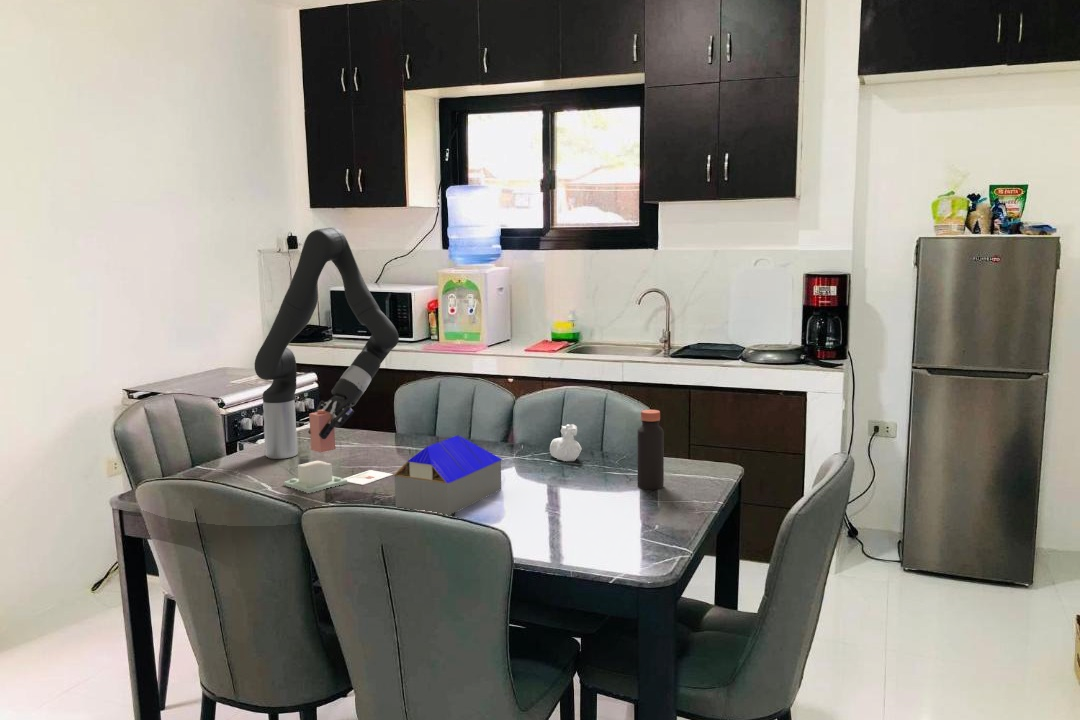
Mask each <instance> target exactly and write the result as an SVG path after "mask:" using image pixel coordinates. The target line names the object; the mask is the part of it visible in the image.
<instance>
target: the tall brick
mask: <svg viewBox="0 0 1080 720" xmlns="http://www.w3.org/2000/svg"><path fill="white" fill-rule="evenodd" d="M330 414H331V413H330V412H327V411H325V410H317V412H315V411H314V412H311V413H308V415H309V417H308V419H309V429H310V434H309V435H310V450H311V451H314V452H318V453H325V452H329V451H333V450H336V433H335V428H334V429H332V431H331V432H330V434H329V435H328V436H327V438H326V439H322V438H321V437H320V436H319V433H320V432H321V430H322V429H323V428H324V426H325V425H326V424H328V423H327V422H328V420H329V419H330V417H331V416H330ZM333 420H334V419H333Z"/></svg>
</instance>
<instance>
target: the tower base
mask: <svg viewBox="0 0 1080 720" xmlns="http://www.w3.org/2000/svg"><path fill="white" fill-rule="evenodd" d="M332 468H333V465H332V463H329V462H325V461H322V460H314V461H310V462H304V463H302V464H301V463H300V464H297V474H298V475H297V476H298V477H297V478H295V477H293V478H289V480H286V481H283V486H285V485H286V486H285V487H289V488H290V487H291V489H293V488H295V489H294V490H296V489H298V490H297V491H299V490H301V491H300V492H302V491H304V492H303V493H305V492H307V493H306V494H308V493H309V494H311V493H310V492H313V493H315V492H314V491H317V492H320V491H319V490H321V491H324V490H323V489H325V490H327V489H326V488H329V489H331V488H330V487H332V488H336V487H339V485H340V486H344V485H348V482H347V480H345V479H344V478H342V477H341V476H340V477H339V476H335V475H333V469H332ZM335 486H336V487H335Z"/></svg>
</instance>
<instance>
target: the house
mask: <svg viewBox="0 0 1080 720" xmlns="http://www.w3.org/2000/svg"><path fill="white" fill-rule="evenodd" d="M502 461H503V459H502V458H501V457H500V456H496V455H495V454H493V452H490V451H488V450H486V449H485V448H482V447H481V446H479V445H477V444H475V443H473V442H471V441H470V440H468V439H466V438H464V437H463V436H461V435H458V434H457V435H455V436H453V437H450V438H447V439H444V440H441V441H438V442H436V443H433V444H431V445H427V446H426V447H425V448H423V449H422V450H420V451H419V452H418V453H417V454H415V455H414V456H413V457H411V458H410V459H408V460H406V462H405V463H404V464H403V465H402V466H401V467H400V468H399V469H398V470H397V471H396V472H395V473H394V475H392V477H394V492H395V494H394V496H395V508H398V507H403V508H402V509H404V508H409V509H408V510H410V509H417V510H425V511H432V512H437V513H442V514H447V515H449V516H451V515H452V514H450V513H453V514H454V512H455V513H457V512H459V511H461V510H462V508H463V509H465V508H467V507H469V506H471V505H473V504H475V503H477V502H478V500H479V501H480V499H481V500H483V499H485V498H487V497H489V496H491V495H493V494H495V493H497V492H499V491H500V490H499V489H501V490H502ZM498 490H499V491H498ZM496 491H497V492H496ZM494 492H495V493H494ZM492 493H493V494H492ZM490 494H491V495H490ZM488 495H489V496H488ZM486 496H487V497H486ZM482 498H483V499H482ZM460 509H461V510H460ZM458 510H459V511H458ZM456 511H457V512H456Z"/></svg>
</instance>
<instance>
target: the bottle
mask: <svg viewBox="0 0 1080 720" xmlns="http://www.w3.org/2000/svg"><path fill="white" fill-rule="evenodd" d="M640 420H641V423H642V424H641V425H640V427H639V428H638V429H637V436H636V439H637V440H636V441H637V452H636V453H637V454H636V455H637V487H638V488H640V489H642V490H648V491H649V490H651V491H654V490H660V489H662V488H663V487H664V482H665V481H664V479H665V478H664V474H665V472H664V469H665V461H664V459H665V457H664V456H665V455H664V454H665V453H664V452H665V450H664V448H665V445H664V443H665V442H664V441H665V440H664V437H665V436H664V434H665V433H664V429H663V428H662V427H661V426H660V422H661V421H660V420H661V411H660V410H658V409H643V410H641V411H640Z"/></svg>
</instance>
